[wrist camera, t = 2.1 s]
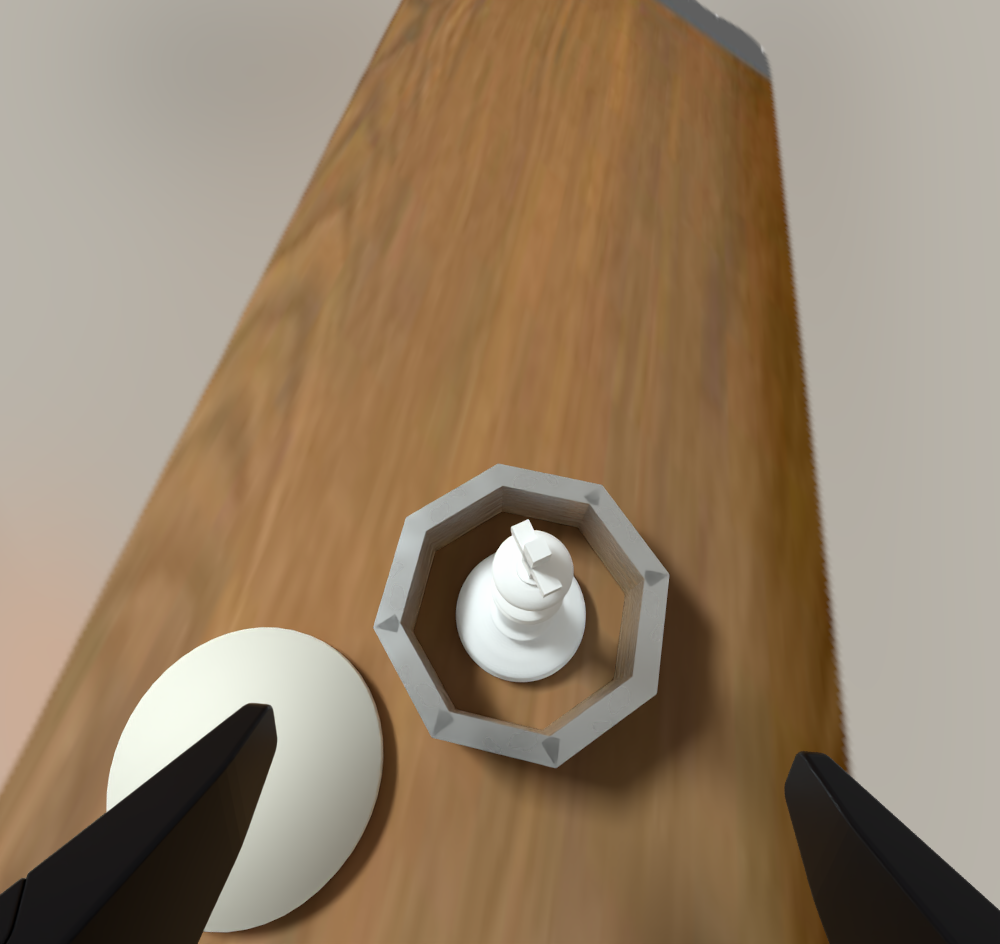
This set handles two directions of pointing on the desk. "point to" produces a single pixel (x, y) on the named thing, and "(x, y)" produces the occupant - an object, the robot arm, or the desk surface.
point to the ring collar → (614, 548)
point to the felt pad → (295, 767)
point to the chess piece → (522, 608)
